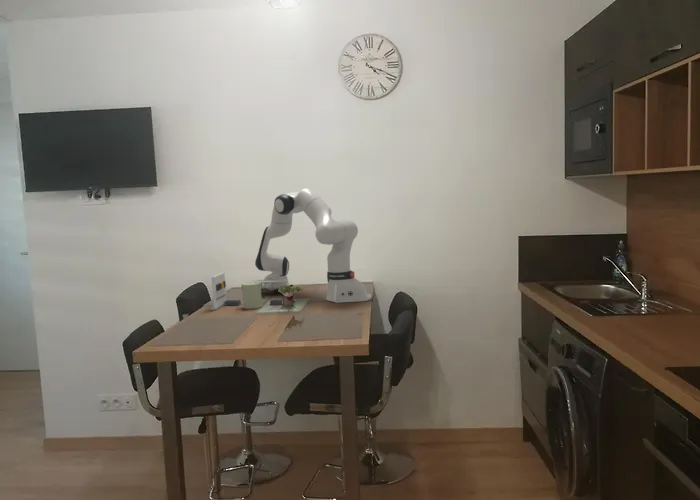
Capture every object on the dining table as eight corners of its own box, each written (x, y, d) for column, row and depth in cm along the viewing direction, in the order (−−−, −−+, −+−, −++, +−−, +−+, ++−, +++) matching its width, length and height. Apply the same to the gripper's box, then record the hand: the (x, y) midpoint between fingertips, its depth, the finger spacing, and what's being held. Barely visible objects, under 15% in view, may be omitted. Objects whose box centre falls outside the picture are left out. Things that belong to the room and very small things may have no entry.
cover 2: (283, 303, 287) (283, 298, 287) (282, 304, 285) (281, 299, 284) (271, 303, 288) (271, 298, 288) (270, 305, 285) (269, 299, 285)
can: (261, 308, 279) (259, 283, 278) (242, 309, 279) (240, 284, 277) (263, 304, 289) (261, 280, 287) (244, 305, 288) (242, 281, 287)
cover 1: (240, 304, 291) (240, 299, 290) (238, 305, 288) (238, 300, 287) (227, 304, 292) (226, 299, 291) (225, 305, 289) (224, 300, 289)
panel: (228, 303, 293) (226, 272, 291) (218, 310, 279) (215, 277, 278) (220, 304, 294) (218, 272, 292) (210, 310, 280) (207, 277, 278)
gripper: (253, 276, 319) (245, 281, 305) (289, 275, 316) (283, 279, 302) (254, 288, 320) (246, 293, 306) (290, 287, 316) (284, 291, 303)
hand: (264, 286), depth 304 cm, fingers closed
